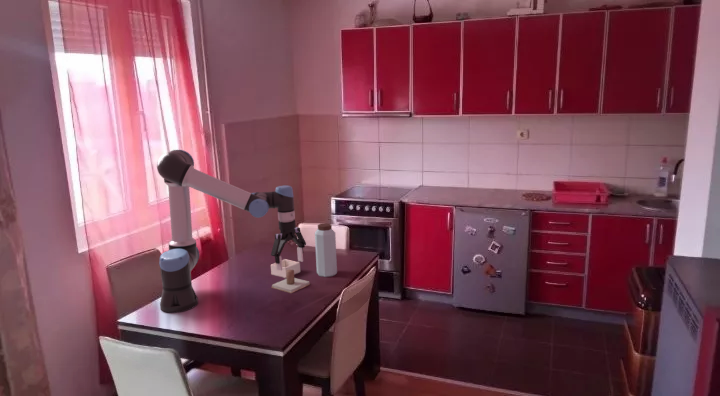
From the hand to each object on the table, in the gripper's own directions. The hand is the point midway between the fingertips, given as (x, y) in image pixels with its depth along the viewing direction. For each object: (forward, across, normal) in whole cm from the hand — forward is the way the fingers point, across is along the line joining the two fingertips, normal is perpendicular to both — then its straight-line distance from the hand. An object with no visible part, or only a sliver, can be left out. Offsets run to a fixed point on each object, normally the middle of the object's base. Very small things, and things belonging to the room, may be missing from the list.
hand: (290, 265), depth 231 cm
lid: (+10, 0, 0) cm, 10 cm away
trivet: (+10, 0, 0) cm, 10 cm away
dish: (+10, +11, +14) cm, 21 cm away
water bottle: (+11, +21, -4) cm, 24 cm away
